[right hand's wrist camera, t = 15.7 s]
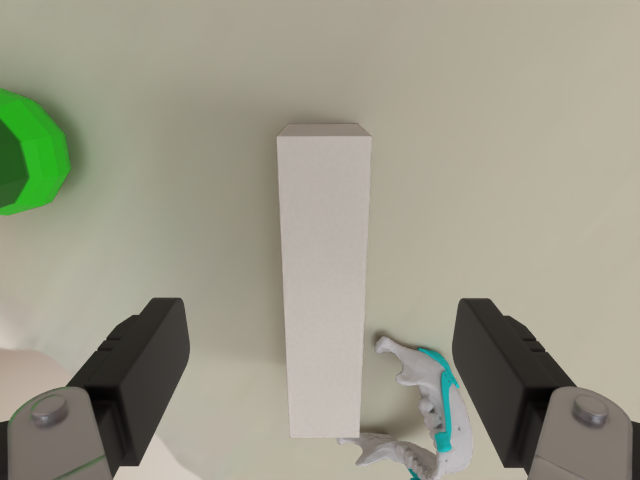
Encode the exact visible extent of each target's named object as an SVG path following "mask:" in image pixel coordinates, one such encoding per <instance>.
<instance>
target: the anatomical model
mask: <svg viewBox="0 0 640 480" xmlns="http://www.w3.org/2000/svg"><path fill="white" fill-rule="evenodd" d="M375 352H376V353H378V354H381V353H384V352H392V353H394V354H395V355H396V356H397V357H398V358H399V360H400V361H401V363H402V366H403V369H402V371H401V372H400V373H399V374H397V375H396V381H397V383H399V384H402V385H405V386H412V385H418V387H419V390H420V393H421V396H422V399H420V400H419V401H418V408H419V410H420V411H421V414H422V415H424V423H425V425H426V427H427V429H428V430H430V437H431V438H432V439H433V440H434V443H433V445H434V447H435V448H436V449H437V451H436V455H435V454H433V453H432V452H430V451H429V450H427V449H424V448H421V447H419V446H418V445H416V444H413V443H411V442H405V441H397V440H396V439H395V438H393V437H391V436H390V435H388V434H379V433H363V432H360V434H359V438H337V442H338V444H340V445H342V444H344V443H355V444H357V445H359V446H360V447H361V448H362V450H363V453H362V455H361V456H360V457H359V459H358V460H357V461H356V465H357V466H366V465H369V464H372V463H375V462H377V461H379V460H383V459H390V460H393V461H396V462H400V463H403V464H405V466H406V467H407V469H408V470H409V472H410V473H411V474H412V476H413V477H414V478H411V479H410V480H421V479H422V480H440V479H441V477H442V476H443V474H445V473H456V472H459V471H462V470H464V469H465V468H466V467H467V466H468V464H469V463H470V461H471V457H472V454H473V437H472V428H471V425H470V421H469V417H468V413H467V409H466V406H465V404H464V401H463V399H462V397H461V395H460V393H459V391H458V389H457V388H459V385H458V383H457V381H456V380H455V378H454V376H453V374H452V372H451V370H450V367H449V364H448V363H447V361H446V360H445V359H444V358H443V357H442V356H441V355H440V354H439V353H437V352H435V351H431V350H426V349H421V348H418V350H413V349H410V348H407V347H404V346H401V345H399V344H397V343H395V342H394V341H392V340H391V339H389V338H388V337H386V336H383V337H381V338H380V339H379V340H378V341H377V342H376V344H375ZM455 385H456V386H455Z"/></svg>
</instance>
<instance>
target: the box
mask: <svg viewBox="0 0 640 480" xmlns="http://www.w3.org/2000/svg"><path fill="white" fill-rule="evenodd" d="M276 143H277V165H278V187H279V210H280V232H281V254H282V276H283V299H284V321H285V343H286V365H287V388H288V410H289V432H290V438H359V434H360V410H361V386H362V362H363V338H364V315H365V291H366V267H367V243H368V219H369V195H370V171H371V148H372V136H371V135H370V134H369V133H368V132H367V131H366V130H365V129H364V128H363V127H361V126H360V125H359V124H288V125H287V126H286V127H285V128H284V129H283V130H282V131H281V132H280V133H279V134H278V135H277V136H276Z"/></svg>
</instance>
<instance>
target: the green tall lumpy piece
mask: <svg viewBox="0 0 640 480" xmlns="http://www.w3.org/2000/svg"><path fill="white" fill-rule="evenodd" d="M70 170H71V165H70V160H69V154H68V149H67V143H66V138H65V134H64V133H63V132H62V130H61V129H60V128H59V127H58V126H57V125H56V123H55V122H54V121H53V120H52V119H51V118H50V116H49V115H48V114H47V113H46V112H45V111H44V109H43V108H42V107H41V106H40V105H39V104H38V103H36V102H35V101H33V100H31V99H28V98H26V97H23V96H20V95H18V94H15V93H12V92H9V91H7V90H4V89H1V88H0V215H11V214H15V213H18V212H22V211H26V210H29V209H33V208H36V207H40V206H43V205H45V204H48V203H50V202H52V201H53V199H54V197H55V196H56V194H57V192H58V191H59V189H60V187H61V185H62V184H63V182H64V180H65V178H66V177H67V175H68V173H69V171H70Z"/></svg>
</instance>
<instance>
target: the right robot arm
mask: <svg viewBox="0 0 640 480" xmlns="http://www.w3.org/2000/svg"><path fill="white" fill-rule="evenodd" d="M189 353H190V342H189V335H188V328H187V322H186V315H185V308H184V303H183V301H182V299H181V298H153V299H151V300H150V302H149V303H148V304H147V306H146V307H145V308H144V309H143V311H142V312H141V313H140V314H139V315H132V316H131V317H129V318H128V319H126V320H125V321H123V322H122V323H120V324H119V325H117V326H116V327H115V328H114V330H113V331H112V332H111V333H110V334H109V335H108V337H107V338H106V340H104V341H103V343H102V344H101V345H100V346H99V347H98V350H97V351H95V352H94V353H93V354H92V356H91V357H90V358H89V359H88V360H87V362H86V363H85V364H84V365H83V366H82V367H81V369H80V370H79V371H78V372H77V373H76V375H75V376H74V377H73V378H72V379H71V381H70V382H69V383H68V384H67V385H66V386H65V387H60V388H56V389H52V390H49V391H47V392H44V393H42V394H40V395H38V396H36V397H34V398H32V399H31V400H29V401H27V402H26V403H25V404H23V405H22V406H21V407H20V408H19V409H18V410H17V411H16V412H15V413H14V414H13V416H12V417H11V418H10V420H9V421H5V422H0V480H113V478H114V476H115V474H116V472H117V470H118V468H119V466H139V464H140V462H141V460H142V458H143V456H144V454H145V452H146V449H147V447H148V445H149V443H150V441H151V439H152V437H153V435H154V433H155V431H156V428H157V426H158V424H159V422H160V420H161V418H162V416H163V414H164V412H165V410H166V407H167V405H168V403H169V401H170V399H171V397H172V395H173V393H174V391H175V389H176V386H177V384H178V382H179V380H180V378H181V376H182V374H183V372H184V370H185V367H186V365H187V363H188V359H189ZM452 354H453V360H454V363H455V366H456V368H457V370H458V372H459V374H460V377H461V379H462V381H463V383H464V385H465V387H466V389H467V391H468V393H469V395H470V397H471V399H472V401H473V404H474V406H475V408H476V410H477V412H478V414H479V416H480V418H481V420H482V422H483V424H484V426H485V428H486V430H487V433H488V435H489V437H490V439H491V441H492V443H493V445H494V447H495V449H496V451H497V453H498V455H499V457H500V460H501V462H502V464H503V466H504V468H524V470H525V471H526V473H527V475H528V479H527V480H640V423H637V422H633V421H631V420H630V418H629V417H628V415H627V414H626V413H625V412H624V411H623V410H622V409H621V408H620V407H619V406H618V405H617V404H615V403H614V402H613V401H611V400H609V399H608V398H606V397H604V396H602V395H600V394H598V393H596V392H593V391H591V390H588V389H584V388H580V387H577V386H576V385H575V384H574V383H573V381H572V380H571V379H570V378H569V377H568V376H567V374H566V373H565V372H564V371H563V370H562V368H561V367H560V366H559V365H558V364H557V363H556V361H555V360H554V359H553V358H552V357H551V356H550V354H549V353H548V352H545V349H544V347H543V346H542V345H541V344H540V343H539V341H536V338H535V337H534V336H533V334H532V333H531V332H530V331H529V330H528V329H527V327H526V326H524V325H523V324H521V323H520V322H518V321H517V320H515V319H514V318H512V317H510V316H503V315H502V313H501V312H500V311H499V310H498V308H497V307H496V306H495V305H494V303H493V302H492V301H491V300H490V299H488V298H462V299H461V300H460V301H459V304H458V309H457V316H456V323H455V329H454V336H453V342H452Z"/></svg>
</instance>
